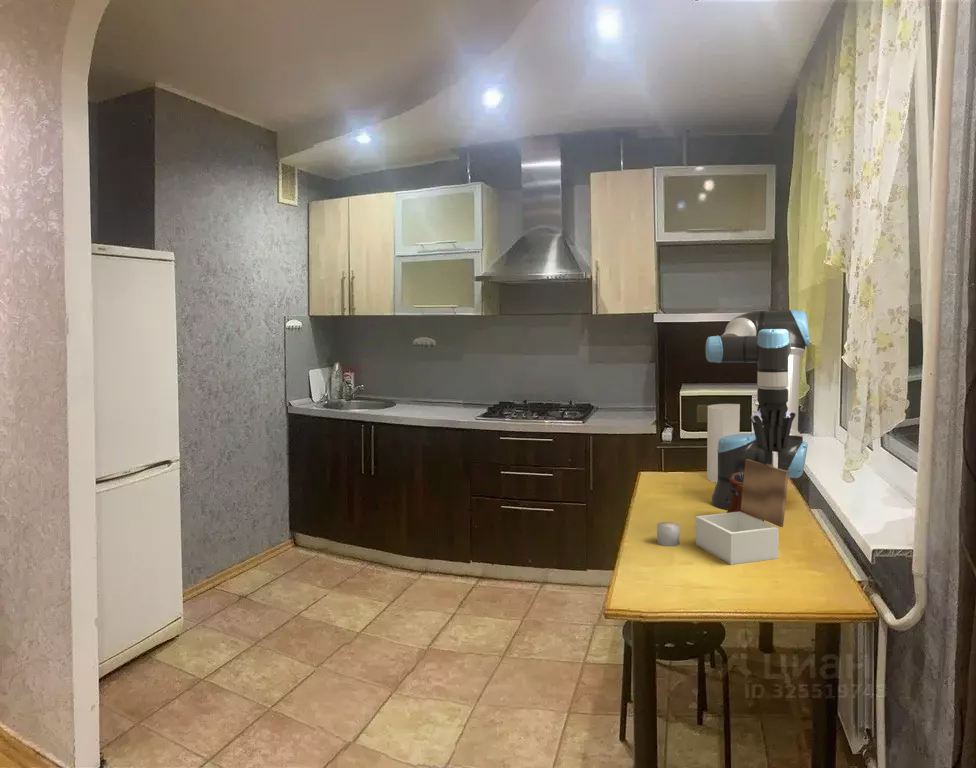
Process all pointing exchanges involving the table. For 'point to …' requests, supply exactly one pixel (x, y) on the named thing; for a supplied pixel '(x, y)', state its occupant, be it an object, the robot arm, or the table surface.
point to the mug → (737, 493)
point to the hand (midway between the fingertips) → (772, 475)
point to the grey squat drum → (668, 534)
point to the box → (737, 537)
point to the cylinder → (720, 432)
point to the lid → (764, 492)
